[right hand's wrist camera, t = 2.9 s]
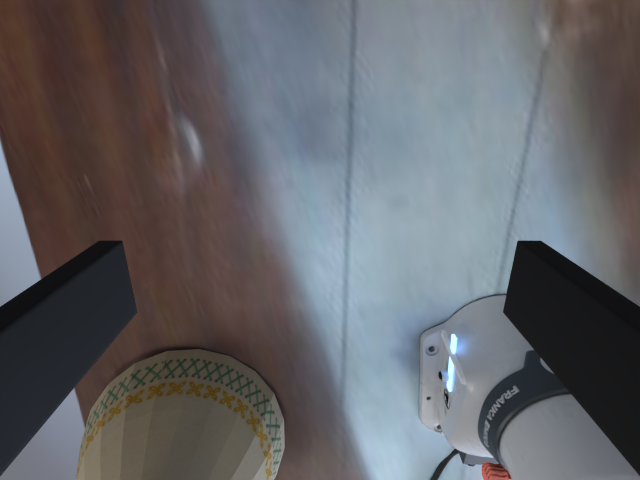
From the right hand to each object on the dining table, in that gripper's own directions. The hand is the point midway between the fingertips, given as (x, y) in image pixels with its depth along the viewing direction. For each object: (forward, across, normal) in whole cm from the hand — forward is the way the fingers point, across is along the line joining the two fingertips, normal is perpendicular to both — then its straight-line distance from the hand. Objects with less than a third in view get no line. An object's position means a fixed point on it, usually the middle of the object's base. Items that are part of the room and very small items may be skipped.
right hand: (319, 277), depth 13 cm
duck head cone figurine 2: (+28, -16, -35) cm, 48 cm away
